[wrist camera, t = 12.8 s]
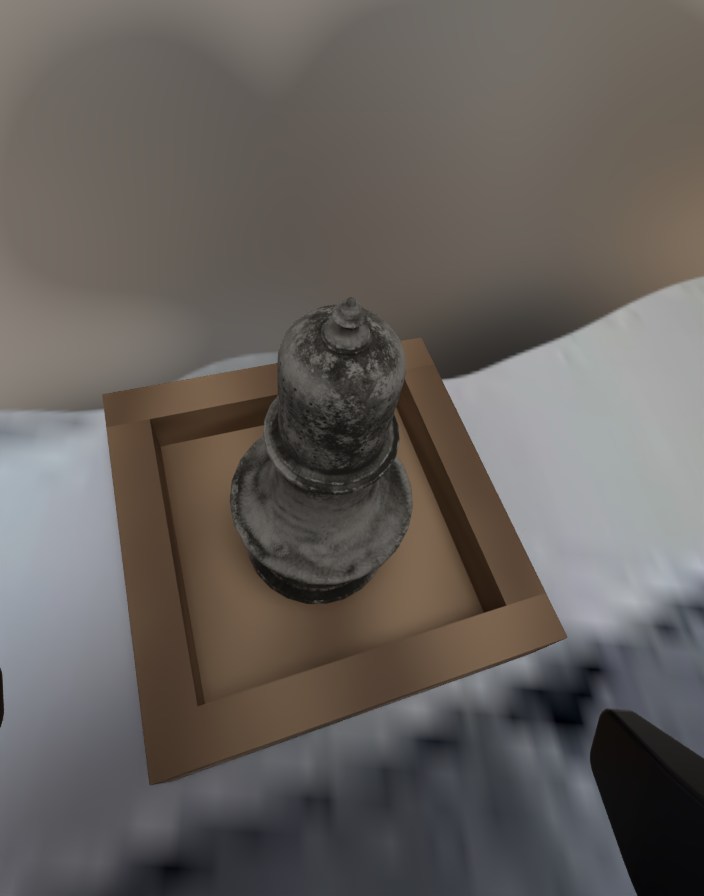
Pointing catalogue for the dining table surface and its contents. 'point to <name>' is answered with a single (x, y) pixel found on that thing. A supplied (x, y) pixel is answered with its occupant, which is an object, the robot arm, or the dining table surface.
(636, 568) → the dining table surface
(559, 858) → the dining table surface
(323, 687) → the walnut tray
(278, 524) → the stone chess piece
